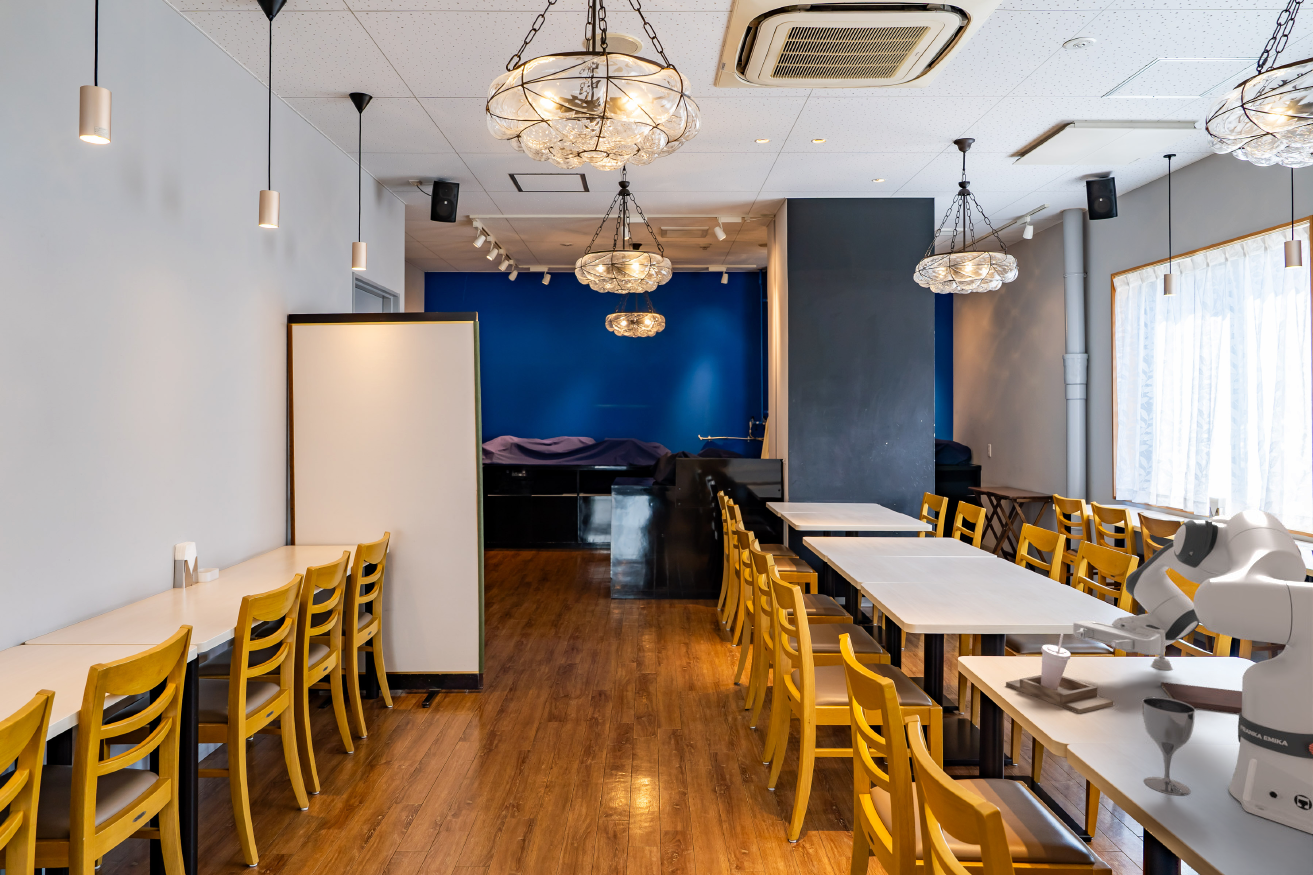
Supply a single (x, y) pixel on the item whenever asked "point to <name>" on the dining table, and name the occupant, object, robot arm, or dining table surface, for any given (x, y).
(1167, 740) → the wine glass
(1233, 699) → the notebook
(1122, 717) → the dining table surface
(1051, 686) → the smoothie
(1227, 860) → the dining table surface
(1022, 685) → the tray
